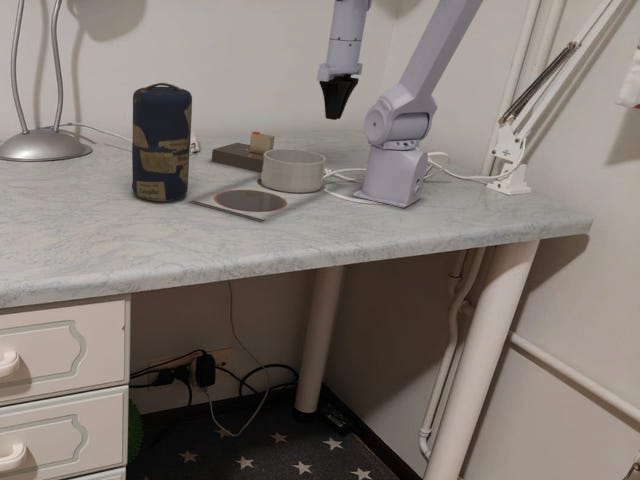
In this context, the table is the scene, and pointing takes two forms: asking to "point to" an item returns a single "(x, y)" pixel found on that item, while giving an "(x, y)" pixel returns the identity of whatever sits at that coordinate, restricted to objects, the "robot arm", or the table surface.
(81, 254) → the table surface
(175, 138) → the canister
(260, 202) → the hob
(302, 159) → the pot
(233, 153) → the dial box
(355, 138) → the table surface
